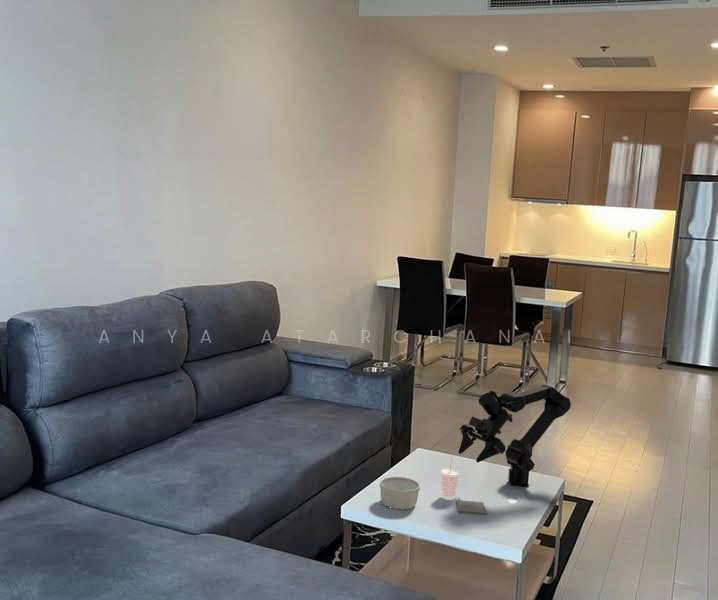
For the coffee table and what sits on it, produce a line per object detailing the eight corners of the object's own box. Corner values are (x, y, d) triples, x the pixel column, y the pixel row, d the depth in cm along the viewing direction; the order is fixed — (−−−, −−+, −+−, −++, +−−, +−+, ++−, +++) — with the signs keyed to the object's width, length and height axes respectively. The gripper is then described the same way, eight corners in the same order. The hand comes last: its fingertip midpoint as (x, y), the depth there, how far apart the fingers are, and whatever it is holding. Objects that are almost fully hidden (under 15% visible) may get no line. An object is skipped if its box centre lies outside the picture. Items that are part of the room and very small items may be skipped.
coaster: (483, 503, 246) (483, 502, 246) (486, 514, 237) (486, 513, 237) (456, 501, 247) (456, 499, 246) (458, 512, 238) (458, 510, 238)
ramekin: (370, 502, 241) (371, 482, 240) (395, 492, 251) (396, 473, 250) (402, 515, 233) (403, 494, 232) (426, 504, 243) (428, 484, 242)
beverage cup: (438, 499, 248) (441, 459, 246) (439, 492, 254) (443, 453, 252) (456, 501, 247) (460, 461, 245) (457, 495, 253) (460, 455, 251)
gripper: (466, 401, 261) (439, 435, 256) (502, 416, 245) (474, 451, 241) (480, 421, 266) (454, 454, 262) (517, 436, 251) (490, 471, 246)
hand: (467, 457), depth 252 cm, fingers open, 9 cm apart
